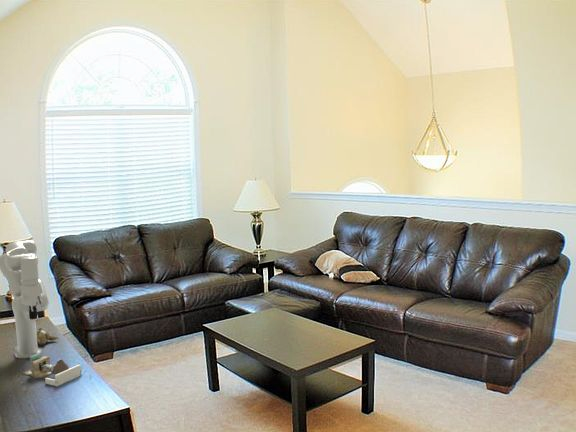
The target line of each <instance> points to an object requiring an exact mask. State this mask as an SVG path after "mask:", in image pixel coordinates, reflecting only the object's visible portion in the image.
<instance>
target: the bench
mask: <svg viewBox="0 0 576 432" xmlns="http://www.w3.org/2000/svg"><path fill="white" fill-rule="evenodd" d="M41 362H42V363H44V364H49V365H51V361H50V356H42V358H39V359H37V360H34V361H32V362H31V366H30V369H29V370H26V371H24V372H23V374H24V375H27V376H32V377H31V378H35V379H37V378H41V379H45V378H47V377H48V376H51V375H54V374H53V373H51V372H48V371H44V370H39V363H41ZM31 370H32V372H31Z"/></svg>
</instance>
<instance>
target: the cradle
mask: <svg viewBox="0 0 576 432" xmlns="http://www.w3.org/2000/svg"><path fill="white" fill-rule="evenodd" d="M80 376H82V365H81V364H77V365H75V366H72V367H69V369H68V370H65V371H63V372H61V373H59V374H56V375H55V377H54V378H49V377H44V379H45V385H51V386H55V387H59V386H60V385H63V384H66V383H67V382H69V381H72V380H74V379H77V378H79V377H80Z"/></svg>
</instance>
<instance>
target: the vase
mask: <svg viewBox="0 0 576 432" xmlns="http://www.w3.org/2000/svg"><path fill="white" fill-rule="evenodd" d="M54 365H55V367H54V369H53V374H52V375H53V378H55V375H56V374H59V373H61V372H63V371H65V370H68V369H69V368H70V366H69V365H68V364H67V363H66V362H65V361H64V360H63V359H59V360H57V362H56V363H55V364H54Z"/></svg>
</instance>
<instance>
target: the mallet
mask: <svg viewBox="0 0 576 432" xmlns="http://www.w3.org/2000/svg"><path fill="white" fill-rule="evenodd" d="M42 355H43V354H42V353H41V354H40V353H38V354H36V355H33V356H30V358H29V364H30V367H31V362H32V361H34V360H37V359H39V358H42V357H43V356H42ZM55 365H56V364H50V365H49V364H44V363H42V362H41V363H39V370H44V371H48V372H51V373H53V369H54V367H55ZM30 370H31V369H30ZM31 372H32V370H31Z"/></svg>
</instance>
